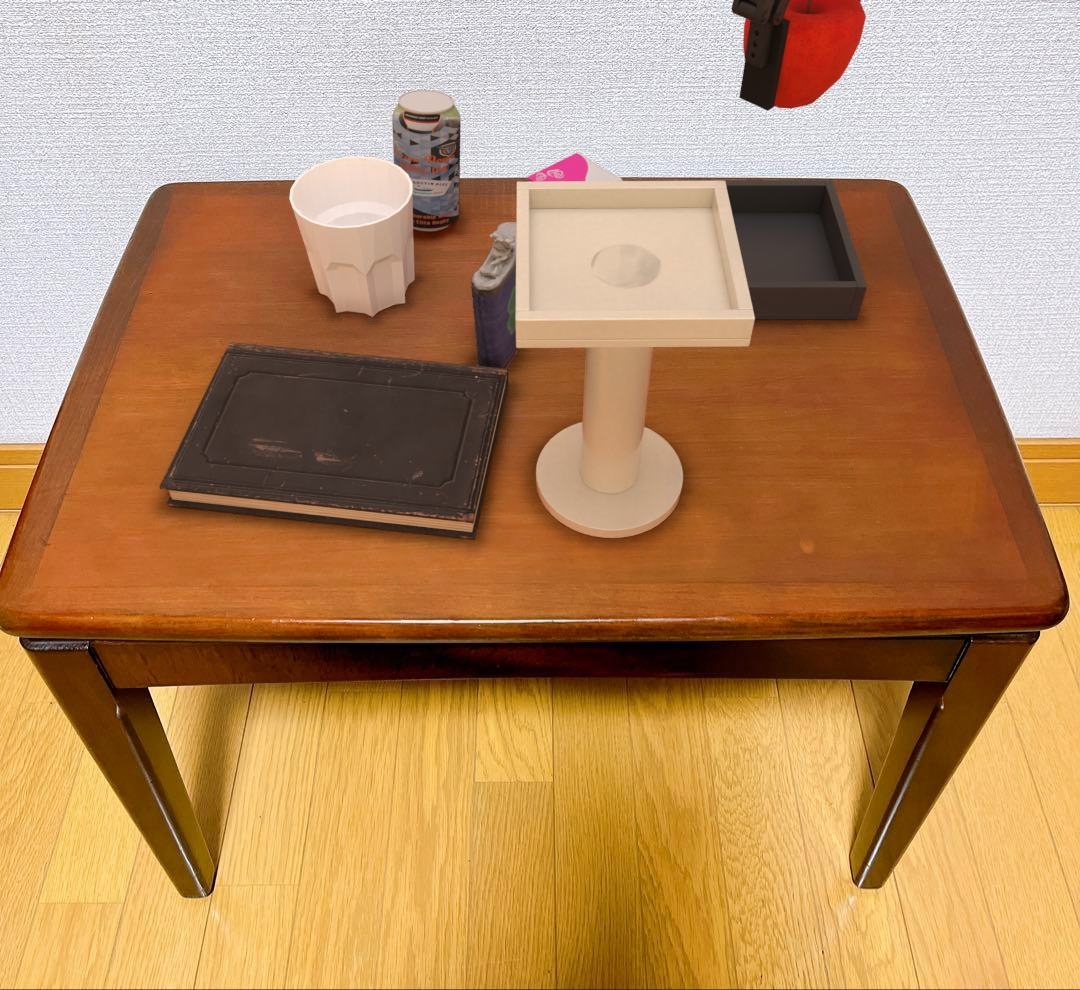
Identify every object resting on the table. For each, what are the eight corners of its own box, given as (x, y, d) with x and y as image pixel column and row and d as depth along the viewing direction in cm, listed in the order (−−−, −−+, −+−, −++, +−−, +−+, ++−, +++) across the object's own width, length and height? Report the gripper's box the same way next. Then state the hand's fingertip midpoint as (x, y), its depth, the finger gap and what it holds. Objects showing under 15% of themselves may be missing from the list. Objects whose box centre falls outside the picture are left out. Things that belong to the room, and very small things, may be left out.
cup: (406, 329, 87) (393, 233, 79) (295, 316, 88) (272, 220, 81) (435, 258, 93) (425, 162, 86) (330, 246, 94) (312, 151, 87)
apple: (856, 127, 77) (882, 24, 71) (740, 126, 77) (756, 23, 71) (836, 68, 83) (859, -31, 77) (728, 68, 83) (742, -32, 77)
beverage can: (388, 236, 95) (372, 118, 86) (413, 192, 100) (400, 76, 91) (452, 246, 95) (442, 128, 85) (474, 201, 99) (467, 84, 90)
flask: (502, 303, 89) (499, 198, 81) (534, 308, 89) (534, 204, 81) (472, 373, 84) (465, 269, 75) (506, 380, 83) (503, 276, 75)
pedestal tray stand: (687, 416, 81) (725, 180, 64) (706, 550, 72) (755, 318, 56) (521, 417, 80) (516, 181, 64) (521, 551, 72) (515, 319, 56)
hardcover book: (474, 540, 73) (473, 520, 71) (167, 506, 75) (158, 486, 73) (509, 384, 83) (508, 364, 81) (237, 358, 85) (231, 337, 83)
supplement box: (575, 260, 93) (579, 148, 84) (619, 292, 90) (628, 180, 81) (526, 286, 91) (525, 174, 82) (569, 320, 88) (573, 207, 79)
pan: (824, 212, 98) (833, 180, 95) (856, 319, 88) (867, 286, 85) (663, 212, 98) (666, 180, 95) (677, 319, 88) (681, 287, 85)
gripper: (906, -318, 68) (832, 18, 86) (703, -250, 58) (667, 113, 76) (1008, -297, 65) (910, 48, 82) (811, -222, 55) (747, 152, 72)
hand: (793, 79), depth 79 cm, fingers closed on apple, 9 cm apart
